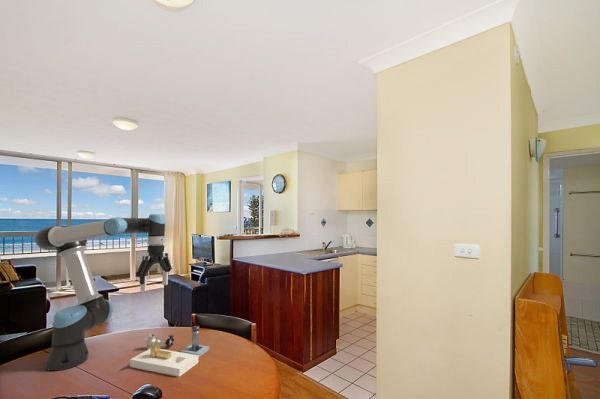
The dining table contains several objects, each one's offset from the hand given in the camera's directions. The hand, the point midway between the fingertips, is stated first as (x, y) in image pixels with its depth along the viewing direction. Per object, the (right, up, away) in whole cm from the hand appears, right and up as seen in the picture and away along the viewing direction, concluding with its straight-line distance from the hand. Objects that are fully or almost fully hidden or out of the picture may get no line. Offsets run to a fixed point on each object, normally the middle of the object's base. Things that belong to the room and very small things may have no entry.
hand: (154, 287), depth 140 cm
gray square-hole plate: (+22, -30, -5) cm, 38 cm away
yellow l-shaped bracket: (+11, -25, -16) cm, 32 cm away
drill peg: (+22, -30, -5) cm, 38 cm away
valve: (+2, -31, +1) cm, 31 cm away
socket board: (+13, -30, -17) cm, 36 cm away
